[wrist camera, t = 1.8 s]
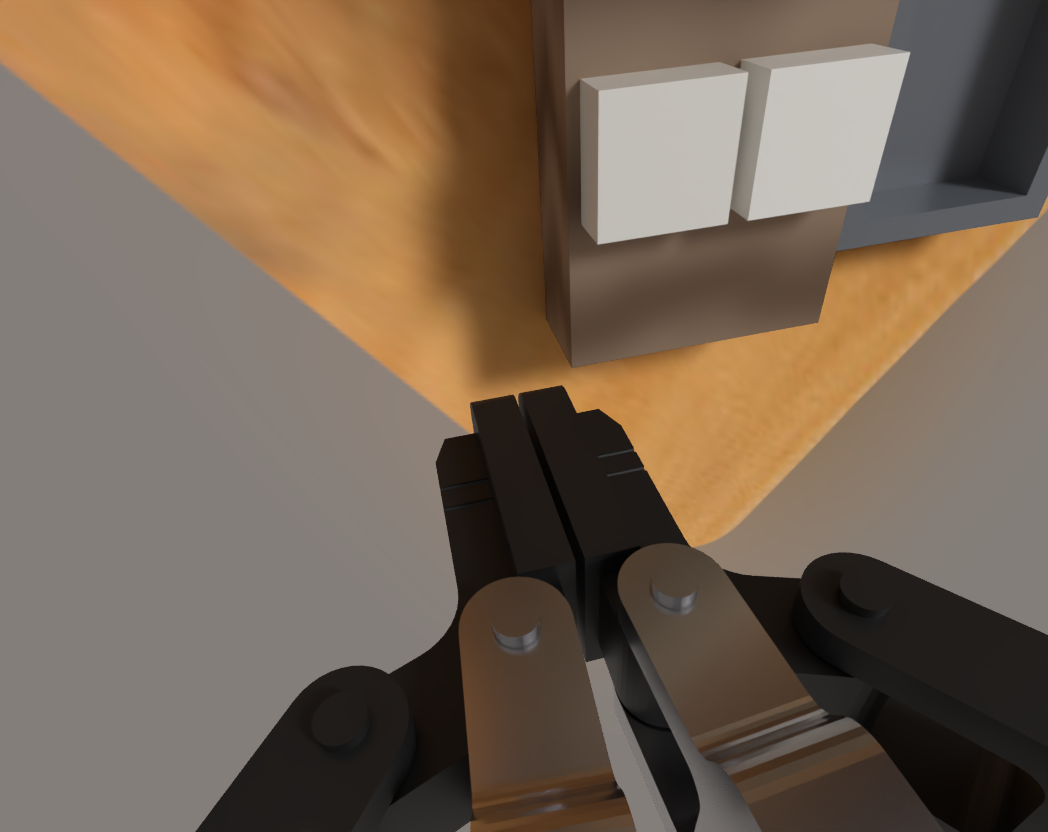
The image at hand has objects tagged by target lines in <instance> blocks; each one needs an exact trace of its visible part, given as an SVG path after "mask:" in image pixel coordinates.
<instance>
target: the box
mask: <svg viewBox="0 0 1048 832" xmlns="http://www.w3.org/2000/svg"><path fill="white" fill-rule="evenodd" d="M888 47H890V48H894V49H899V50H903V51H908V52H910V56H909V60H908V63H907V67H906V71H905V74H904V78H903V82H902V85H901V89H900V92H899V96H898V100H897V103H896V107H895V111H894V114H893V118H892V122H891V125H890V129H889V133H888V136H887V140H886V144H885V147H884V151H883V155H882V158H881V162H880V165H879V169H878V173H877V176H876V180H875V184H874V187H873V191H872V195H871V198H870V202H864V203H857V204H851V205H848V206H847V210H846V214H845V218H844V222H843V226H842V230H841V234H840V238H839V242H838V246H837V250H836V251H840V250H846V249H852V248H858V247H864V246H870V245H876V244H882V243H888V242H894V241H900V240H906V239H912V238H918V237H923V236H929V235H935V234H941V233H947V232H953V231H959V230H965V229H971V228H977V227H983V226H989V225H995V224H1001V223H1006V222H1012V221H1018V220H1024V219H1030V218H1036V217H1038V216H1039V213H1040V211H1041V209H1042V207H1043V205H1044V202H1045V200H1046V198H1047V196H1048V0H900V1H899V5H898V9H897V13H896V17H895V21H894V25H893V29H892V33H891V37H890V41H889V45H888Z"/></svg>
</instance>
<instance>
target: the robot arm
mask: <svg viewBox="0 0 1048 832" xmlns="http://www.w3.org/2000/svg"><path fill="white" fill-rule="evenodd" d="M518 402H519V406H518V404H517V401H516V399H515V396H514V395H508V396H503V397H498V398H492V399H487V400H482V401H476V402H471V403H470V408H471V416H472V422H473V429H474V434H468V435H463V436H458V437H453V438H448V439H445V440H444V443H443V445H442V448H441V450H440V453H439V456H438V458H437V461H436V468H437V473H438V479H439V485H440V490H441V496H442V502H443V507H444V513H445V519H446V525H447V531H448V536H449V542H450V548H451V553H452V559H453V565H454V571H455V576H456V582H457V587H458V607H457V611H456V614H455V618H454V619H453V622H452V624H451V626H450V627H449V629H448V630H447V632H446V633H445V635H444V636H443V637H442V638H441V639H440V640H439V642H437V643H436V644H435V645H434V646H433V647H432V648H431V649H429V650H428V651H426V652H425V653H424V654H422V655H421V656H419V657H417V658H416V659H414V660H412V661H410V662H409V663H407V664H405V665H404V666H402V667H400V668H398V669H397V670H395V671H393V672H392V673H390V674H387V673H386V672H384V671H382V670H380V669H377V668H374V667H369V666H350V667H344V668H340V669H337V670H334V671H331V672H329V673H327V674H325V675H323V676H321V677H320V678H318V679H317V680H315V681H314V682H312V683H311V684H310V685H309V686H308V687H306V688H305V689H304V690H303V691H302V692H301V693H300V694H299V696H298V697H297V698H296V699H295V700H294V701H293V703H292V704H291V705H290V707H289V708H288V709H287V711H286V712H285V713H284V715H283V716H282V717H281V719H280V720H279V721H278V723H277V724H276V725H275V726H274V728H273V729H272V731H271V732H270V733H269V735H268V736H267V737H266V739H265V740H264V741H263V743H262V744H261V745H260V747H259V748H258V749H257V751H256V752H255V753H254V755H253V756H252V757H251V758H250V760H249V761H248V762H247V764H246V765H245V766H244V768H243V769H242V770H241V772H240V773H239V774H238V776H237V777H236V778H235V780H234V781H233V783H232V784H231V785H230V787H229V788H228V789H227V790H226V792H225V793H224V794H223V796H222V797H221V798H220V800H219V801H218V802H217V804H216V805H215V806H214V808H213V809H212V810H211V812H210V813H209V814H208V816H207V817H206V819H205V820H204V821H203V822H202V824H201V825H200V826H199V828H198V829H197V830H196V832H456V831H457V830H458V829H460V828H461V827H462V826H464V825H465V824H467V823H468V822H470V821H471V826H470V830H471V831H470V832H636V828H635V825H634V821H633V818H632V814H631V812H630V808H629V805H628V803H627V800H626V797H625V795H624V792H623V791H622V789H621V788H620V787H619V786H618V784H617V782H616V780H615V777H614V774H613V771H612V767H611V763H610V760H609V756H608V752H607V748H606V744H605V740H604V736H603V732H602V728H601V724H600V720H599V716H598V712H597V708H596V704H595V700H594V696H593V692H592V688H591V684H590V680H589V676H588V672H587V668H586V664H585V661H586V662H588V661H592V660H596V659H600V658H604V659H605V661H606V664H607V667H608V670H609V673H610V675H611V678H612V681H613V704H614V708H615V711H616V714H617V717H618V719H619V721H620V724H621V726H622V728H623V731H624V733H625V735H626V738H627V740H628V743H629V745H630V747H631V749H632V752H633V754H634V756H635V759H636V761H637V764H638V766H639V768H640V771H641V773H642V775H643V778H644V780H645V782H646V785H647V787H648V789H649V792H650V794H651V796H652V799H653V801H654V803H655V805H656V808H657V810H658V813H659V815H660V817H661V820H662V822H663V824H664V826H665V829H666V831H667V832H1048V635H1046V634H1044V633H1042V632H1040V631H1037V630H1035V629H1033V628H1031V627H1028V626H1026V625H1024V624H1022V623H1019V622H1017V621H1015V620H1012V619H1010V618H1008V617H1006V616H1004V615H1001V614H999V613H997V612H995V611H992V610H990V609H988V608H986V607H983V606H981V605H979V604H976V603H974V602H972V601H970V600H968V599H965V598H963V597H961V596H958V595H956V594H954V593H952V592H950V591H948V590H945V589H943V588H941V587H939V586H936V585H934V584H932V583H929V582H927V581H925V580H923V579H921V578H918V577H916V576H914V575H912V574H909V573H907V572H905V571H902V570H900V569H898V568H896V567H893V566H891V565H889V564H887V563H884V562H882V561H880V560H877V559H875V558H872V557H869V556H865V555H861V554H855V553H831V554H828V555H824V556H821V557H819V558H817V559H815V560H814V561H813V562H811V563H810V564H809V565H808V566H807V568H806V569H805V570H804V573H803V575H802V577H801V579H800V578H783V577H765V576H751V575H742V574H738V573H734V572H730V571H727V570H725V569H722V568H721V567H720V566H719V564H717V563H716V562H715V561H714V560H713V559H712V558H711V557H709V556H707V555H706V554H704V553H703V552H701V551H699V550H697V549H695V548H692V547H690V545H689V544H688V543H687V541H686V540H685V538H684V537H683V535H682V533H681V531H680V529H679V528H678V526H677V524H676V522H675V520H674V519H673V517H672V515H671V513H670V512H669V510H668V508H667V506H666V504H665V503H664V501H663V499H662V497H661V496H660V494H659V492H658V490H657V488H656V487H655V485H654V483H653V481H652V479H651V478H650V476H649V474H648V472H647V471H646V470H644V465H643V463H642V462H641V460H640V458H639V456H638V455H637V453H636V452H634V447H633V446H632V444H631V442H630V440H629V439H628V437H627V435H626V433H625V431H624V430H623V428H622V426H621V425H620V424H618V423H617V422H616V421H614V420H613V419H612V418H610V417H609V416H608V415H606V414H605V413H603V412H602V411H601V410H599V409H596V410H591V411H586V412H581V413H576V411H575V408H574V406H573V404H572V402H571V400H570V398H569V396H568V394H567V392H566V390H565V388H564V387H563V386H562V385H561V386H555V387H550V388H545V389H539V390H534V391H529V392H523V393H519V397H518ZM583 655H584V656H583ZM584 658H585V660H584Z"/></svg>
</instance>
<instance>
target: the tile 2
mask: <svg viewBox="0 0 1048 832" xmlns="http://www.w3.org/2000/svg"><path fill="white" fill-rule="evenodd" d="M909 56H910V52H908V51H903V50H899V49H894V48H890V47H885V46H881V45H876V44H864V45H855V46H847V47H839V48H831V49H822V50H814V51H806V52H798V53H789V54H781V55H773V56H765V57H756V58H748V59H741V66H740V69H741V70H744V71H747V72H749V73H748V80H747V88H746V95H745V102H744V109H743V117H742V124H741V131H740V138H739V146H738V153H737V160H736V168H735V175H734V182H733V189H732V197H731V204H730V208H731V209H732V210H734V211H735V212H736V213H738V214H739V215H740V216H742V217H743V218H745V219H746V220H747V221H750V220H756V219H763V218H769V217H775V216H782V215H788V214H794V213H801V212H807V211H813V210H819V209H826V208H832V207H838V206H845V205H851V204H857V203H864V202H870V198H871V195H872V191H873V187H874V184H875V180H876V176H877V173H878V169H879V165H880V162H881V158H882V155H883V151H884V147H885V144H886V140H887V136H888V133H889V129H890V125H891V122H892V118H893V114H894V111H895V107H896V103H897V100H898V96H899V92H900V89H901V85H902V82H903V78H904V74H905V71H906V67H907V63H908V60H909Z"/></svg>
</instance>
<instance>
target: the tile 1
mask: <svg viewBox="0 0 1048 832" xmlns="http://www.w3.org/2000/svg"><path fill="white" fill-rule="evenodd" d="M748 73H749V72H747V71H744V70H741V69H738V68H735V67H733V66H730V65H727V64H724V63H721V62H715V63H707V64H699V65H690V66H682V67H674V68H666V69H657V70H649V71H641V72H633V73H624V74H616V75H608V76H600V77H591V78H583V79H580V140H581V225H582V226H583V227H584V228H585V230H586V231H587V232H588V233H589V235H590V236H591V237H592V238H593V239H594V241H595V242H596V243H597V244H605V243H611V242H617V241H624V240H630V239H636V238H643V237H649V236H655V235H661V234H668V233H674V232H680V231H687V230H693V229H699V228H706V227H712V226H718V225H725V224H728V218H729V211H730V204H731V197H732V189H733V182H734V175H735V168H736V160H737V153H738V146H739V138H740V131H741V124H742V117H743V109H744V102H745V95H746V88H747V80H748Z"/></svg>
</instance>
